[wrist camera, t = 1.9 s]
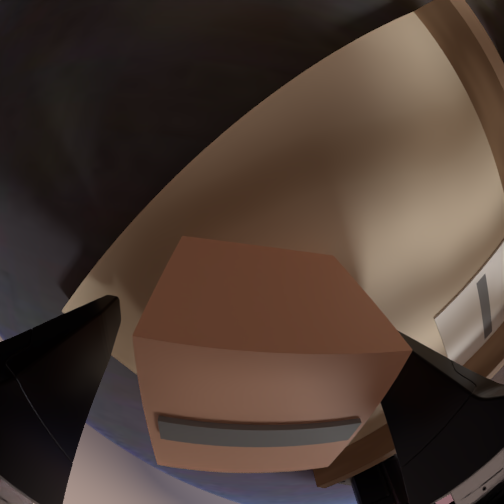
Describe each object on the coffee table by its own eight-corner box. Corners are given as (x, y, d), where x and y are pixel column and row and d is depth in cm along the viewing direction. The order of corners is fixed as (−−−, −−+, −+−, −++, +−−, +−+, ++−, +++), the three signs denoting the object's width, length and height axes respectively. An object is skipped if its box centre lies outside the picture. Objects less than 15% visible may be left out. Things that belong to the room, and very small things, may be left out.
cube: (333, 255, 9) (415, 354, 4) (298, 365, 11) (328, 470, 6) (182, 235, 8) (129, 341, 4) (177, 355, 10) (157, 468, 5)
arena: (518, 296, 12) (541, 315, 10) (317, 457, 16) (324, 488, 13) (416, 11, 6) (457, -10, 3) (69, 301, 10) (36, 341, 7)
